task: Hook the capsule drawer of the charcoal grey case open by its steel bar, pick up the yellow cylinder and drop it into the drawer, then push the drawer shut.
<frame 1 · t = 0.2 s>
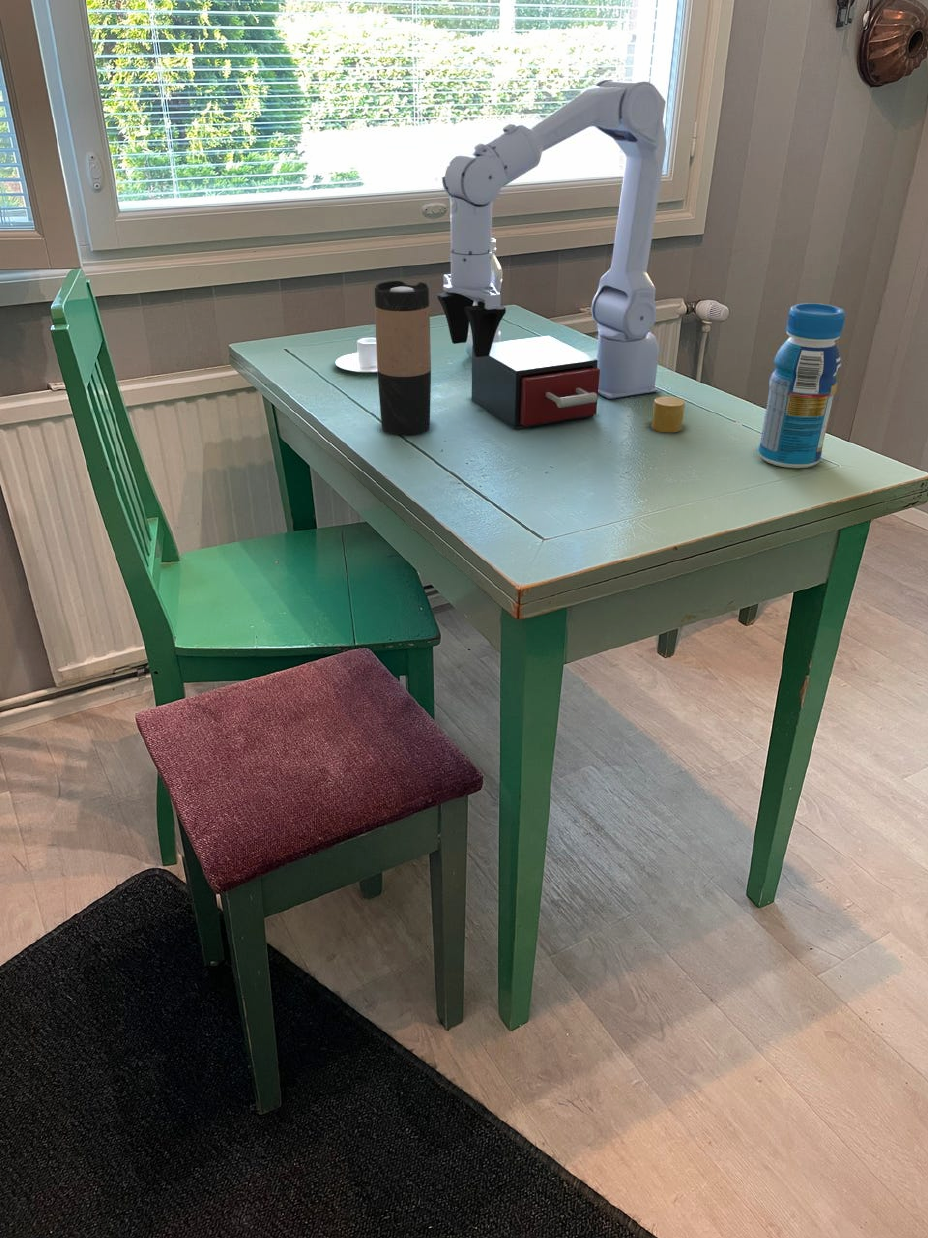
hand: (470, 349, 137), 10 cm above the table, tool pointing down, fingers open, 7 cm apart
charcoal grey case: (531, 407, 146), on the table
travel mug: (405, 428, 138), on the table
candle holder: (370, 366, 164), on the table
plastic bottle: (482, 359, 168), on the table
yellow cylinder: (666, 427, 138), on the table
beverage bottle: (788, 459, 128), on the table
capsule drawer: (547, 388, 140), point 4 cm above the table, slide at 0.5 cm
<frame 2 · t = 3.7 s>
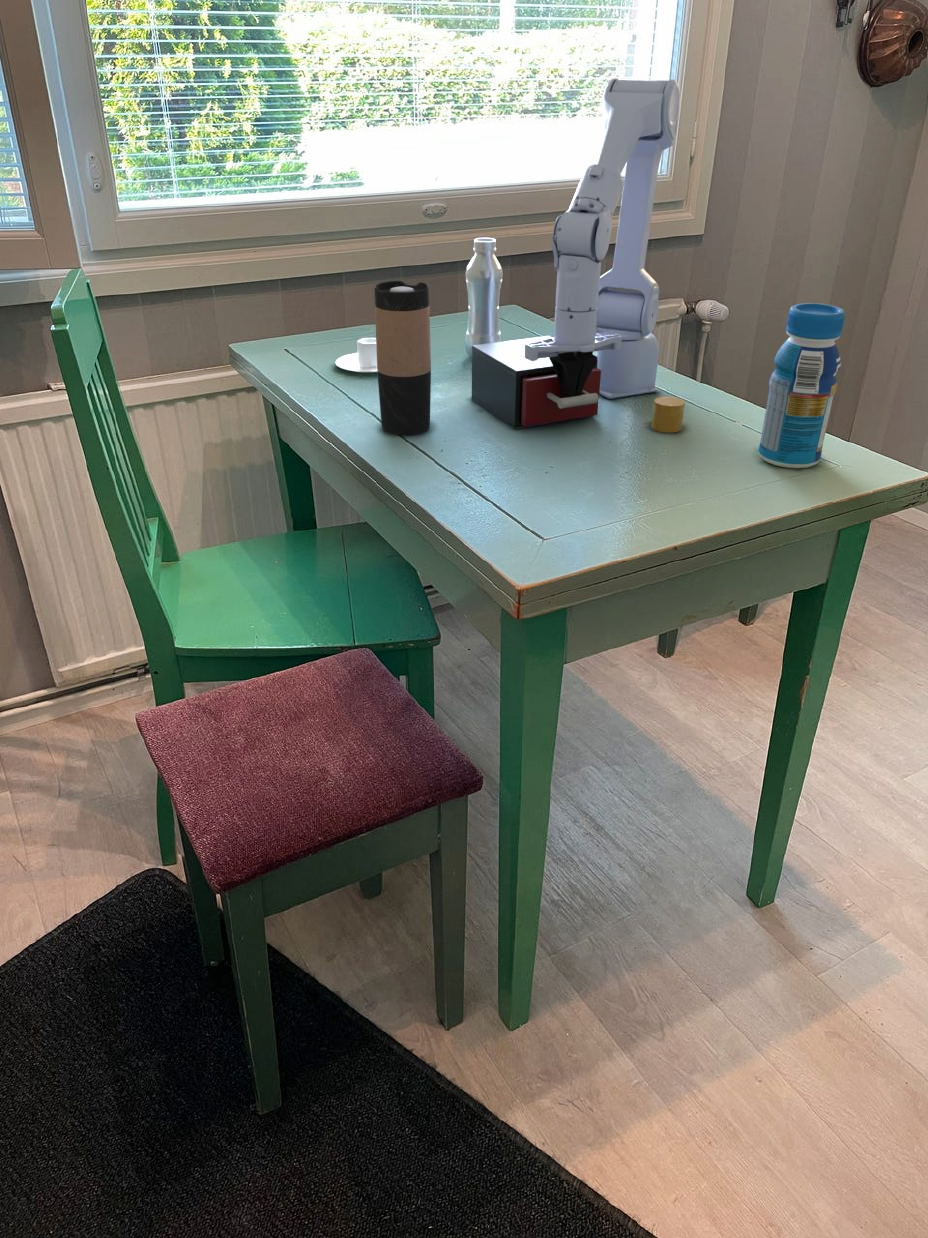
hand: (569, 404, 135), 4 cm above the table, tool pointing down, fingers closed, pressing on capsule drawer
capsule drawer: (548, 389, 139), point 4 cm above the table, slide at 0.8 cm, touching gripper
everything else where it was.
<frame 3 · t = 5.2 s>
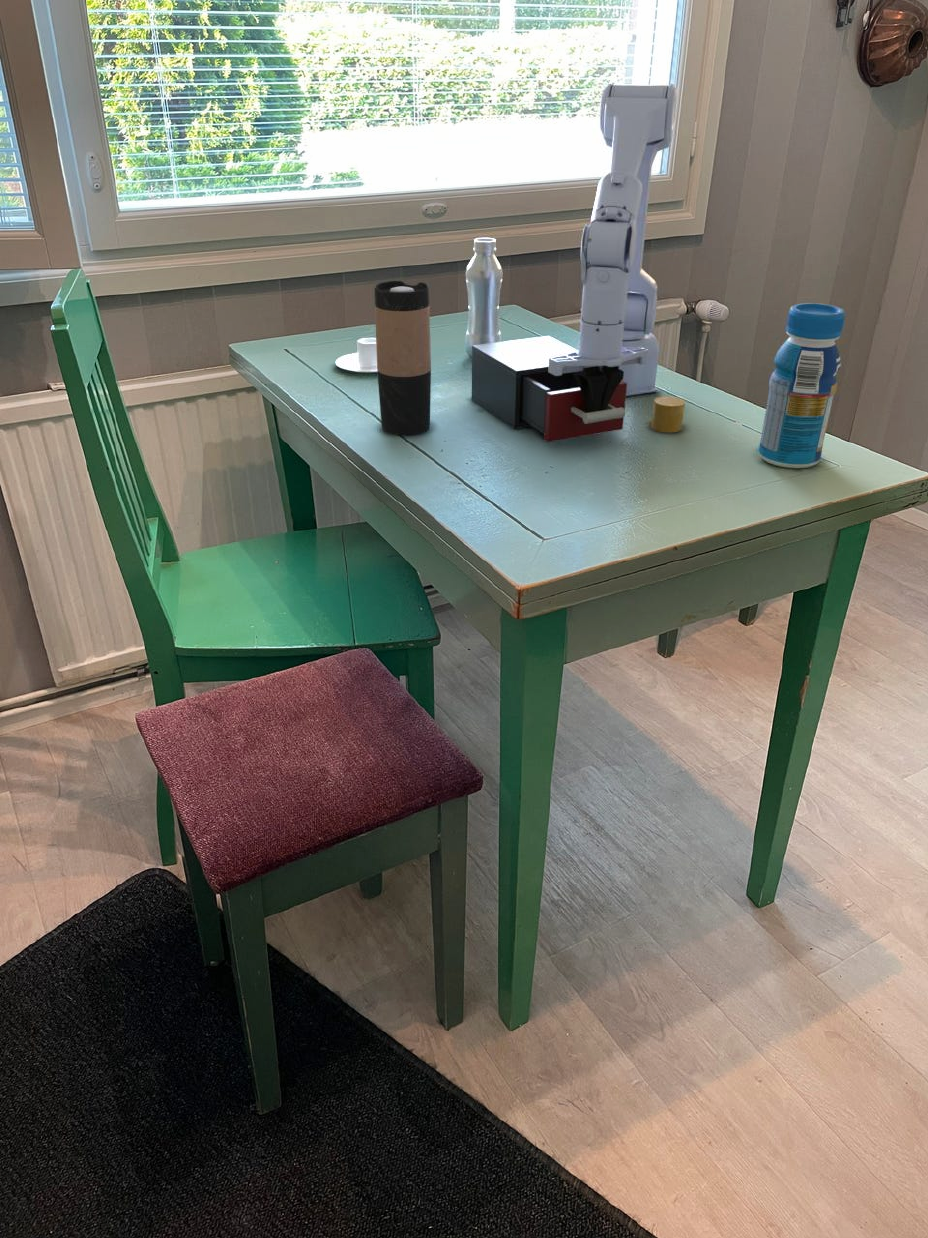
hand: (594, 420, 130), 4 cm above the table, tool pointing down, fingers closed, pressing on capsule drawer
capsule drawer: (571, 403, 134), point 4 cm above the table, slide at 7.6 cm, touching gripper
everything else where it was.
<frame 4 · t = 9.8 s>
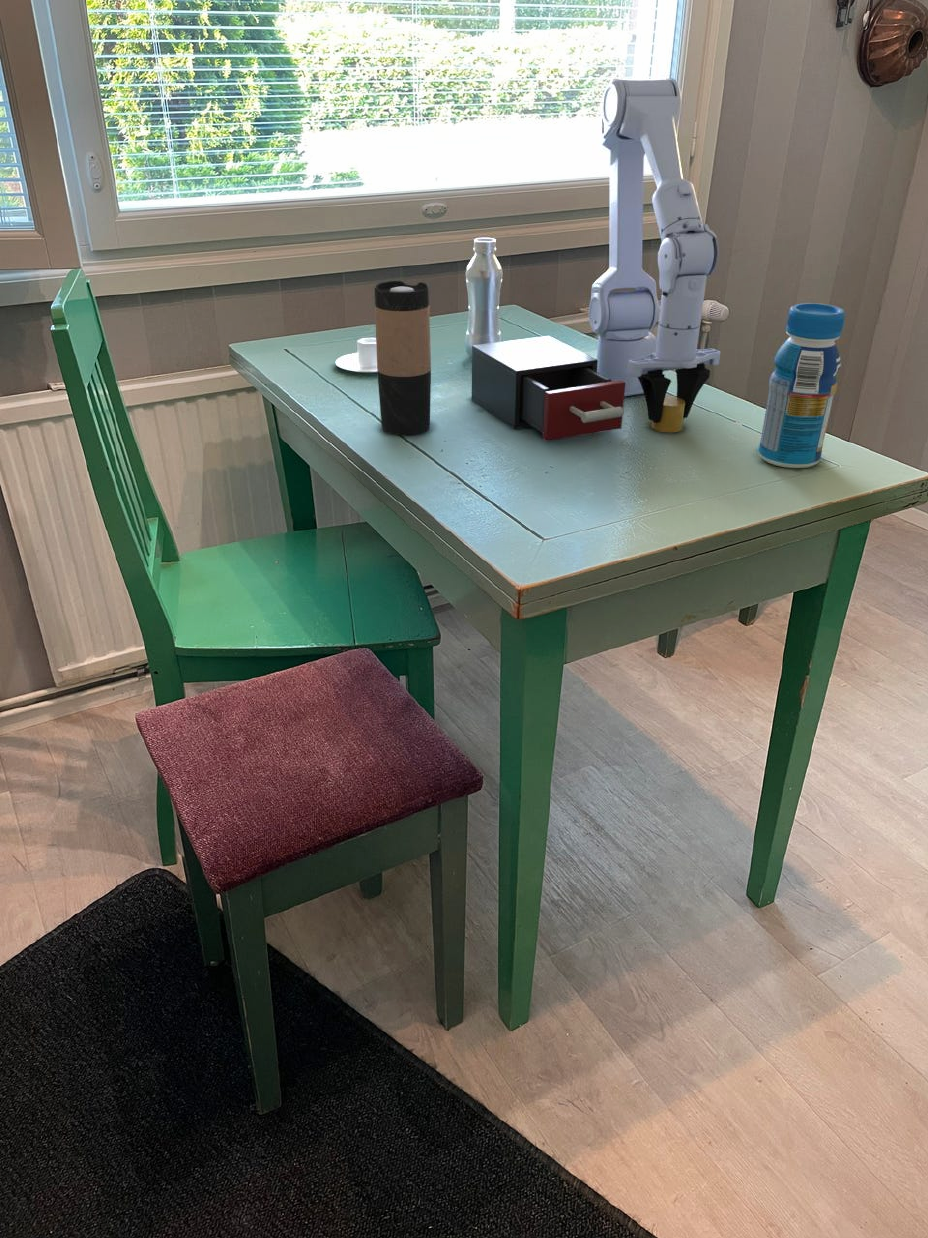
hand: (667, 418, 138), 1 cm above the table, tool pointing down, fingers closed on yellow cylinder, 4 cm apart
yellow cylinder: (666, 427, 138), on the table, touching gripper
capsule drawer: (570, 402, 135), point 4 cm above the table, slide at 7.2 cm
everything else where it was.
when the fingers open (6 cm above the table, at t = 14.0 s): yellow cylinder drops 2 cm, resting on capsule drawer.
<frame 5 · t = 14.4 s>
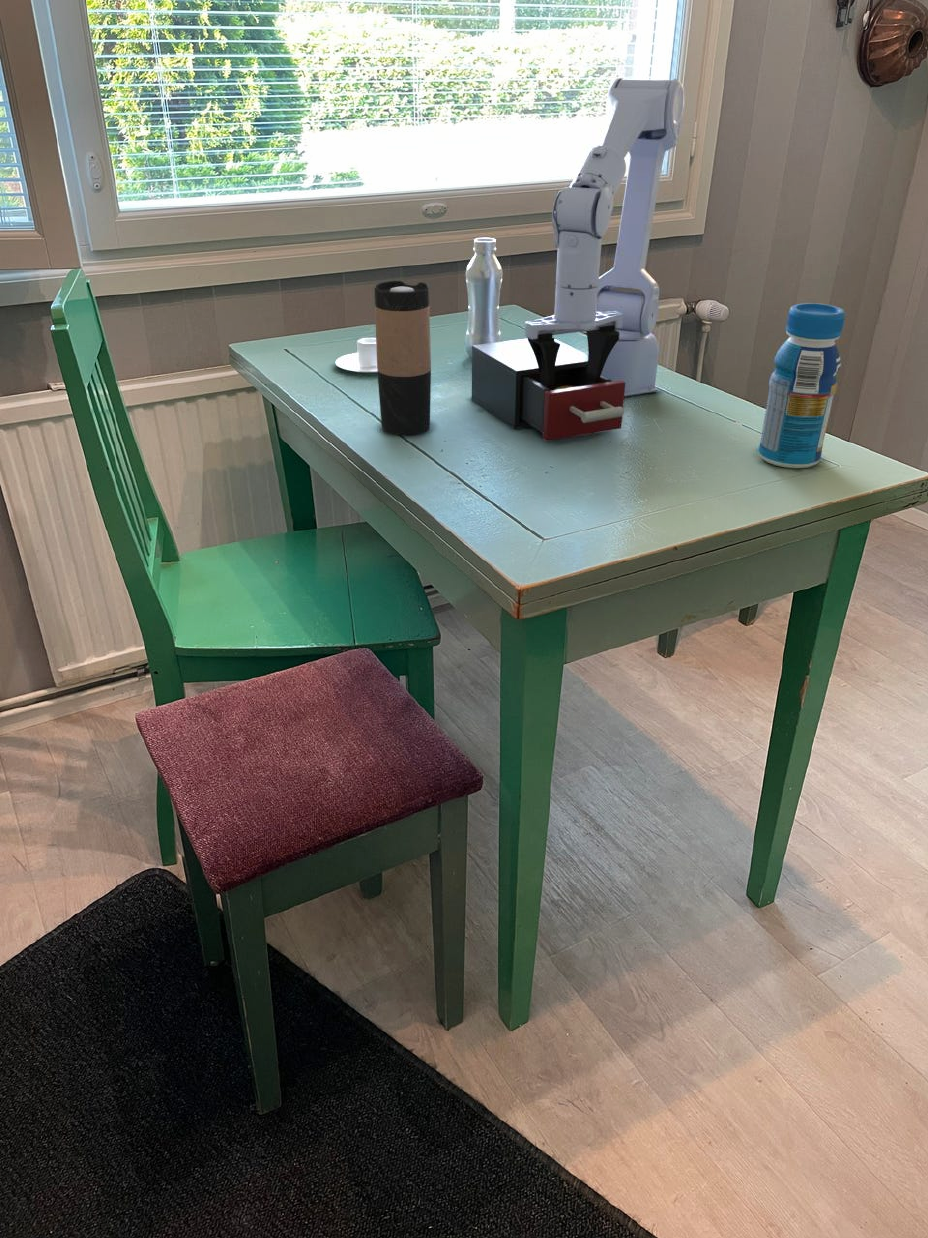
hand: (570, 383, 133), 7 cm above the table, tool pointing down, fingers open, 7 cm apart
yellow cylinder: (568, 417, 136), point 2 cm above the table, touching capsule drawer
capsule drawer: (570, 402, 135), point 4 cm above the table, slide at 7.2 cm, touching yellow cylinder
everything else where it was.
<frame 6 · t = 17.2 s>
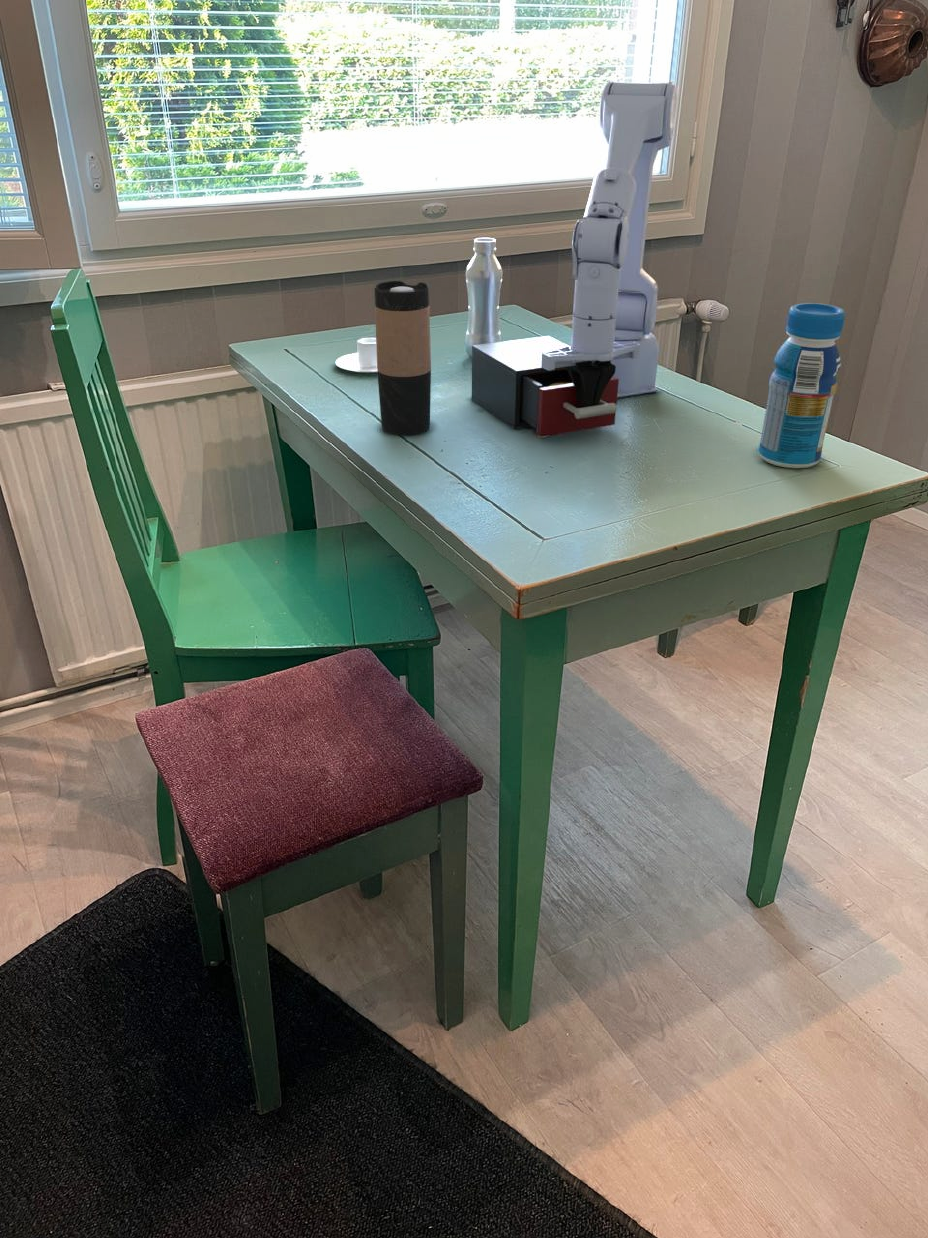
hand: (586, 414, 131), 4 cm above the table, tool pointing down, fingers closed, pressing on capsule drawer
yellow cylinder: (562, 413, 137), point 2 cm above the table, touching capsule drawer
capsule drawer: (564, 398, 136), point 4 cm above the table, slide at 5.5 cm, touching yellow cylinder, gripper
everything else where it was.
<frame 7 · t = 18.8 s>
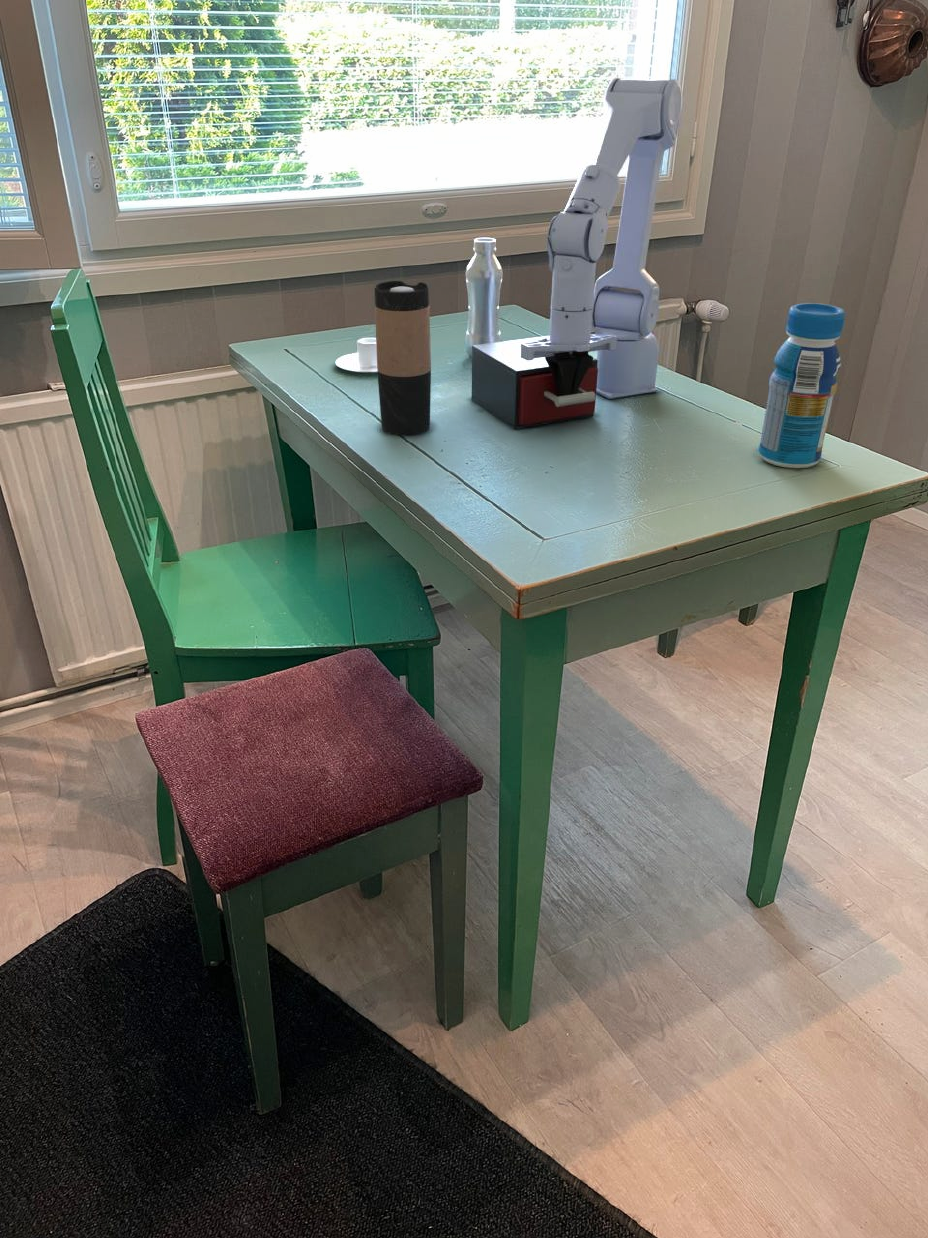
hand: (565, 404, 135), 4 cm above the table, tool pointing down, fingers closed, pressing on capsule drawer
yellow cylinder: (543, 402, 142), point 2 cm above the table, touching capsule drawer
capsule drawer: (545, 388, 140), point 4 cm above the table, slide at 0.0 cm, touching charcoal grey case, yellow cylinder, gripper
everything else where it was.
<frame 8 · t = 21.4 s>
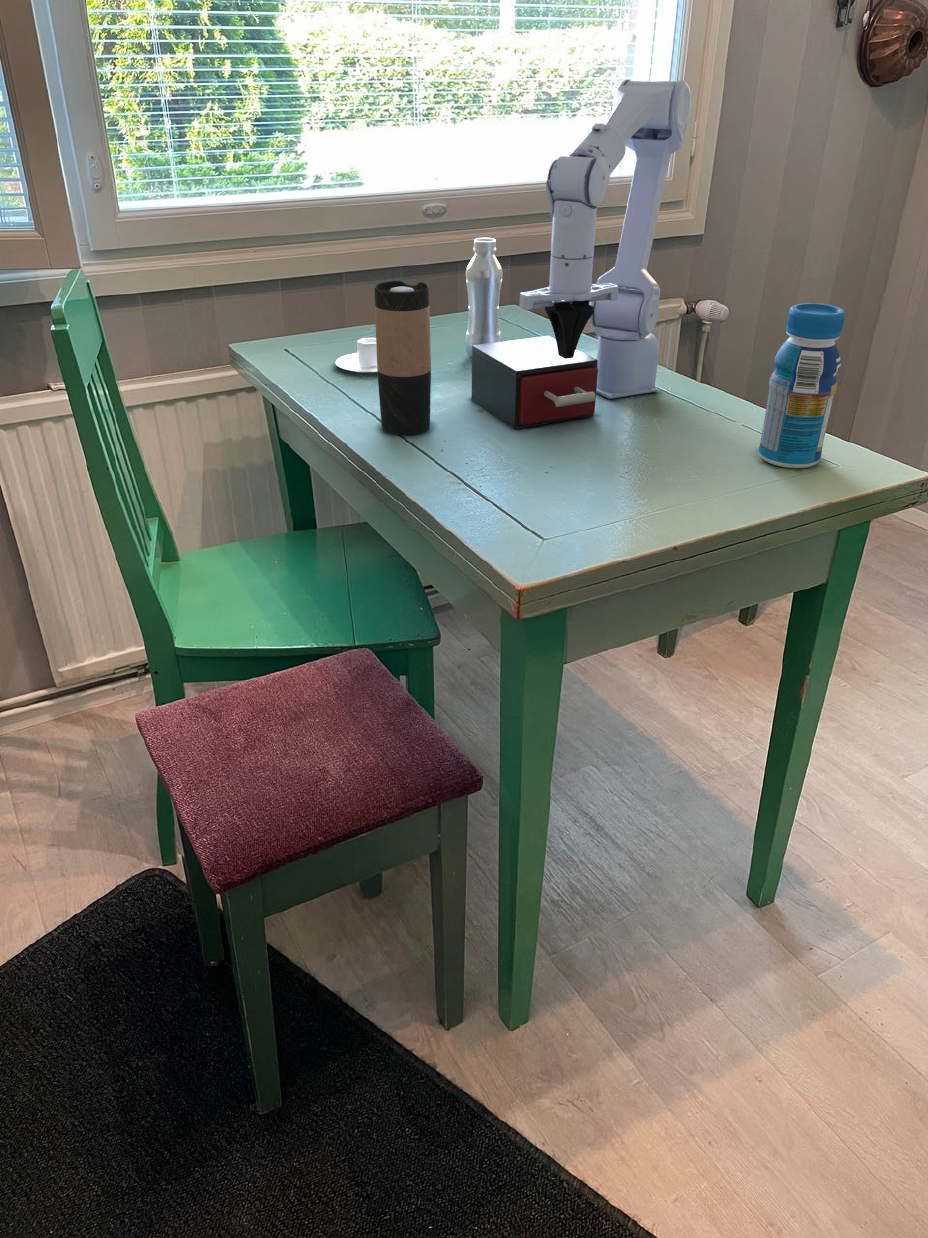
hand: (565, 356, 133), 10 cm above the table, tool pointing down, fingers closed
capsule drawer: (545, 388, 140), point 4 cm above the table, slide at 0.0 cm, touching yellow cylinder
everything else where it was.
at the end: capsule drawer pulled out 7.6 cm at the most during the clip, back to where it started at the end; yellow cylinder inside the target area in the charcoal grey case (3.1 cm from its centre), point 2.0 cm above the charcoal grey case's base; capsule drawer slide at 0.0 cm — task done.
